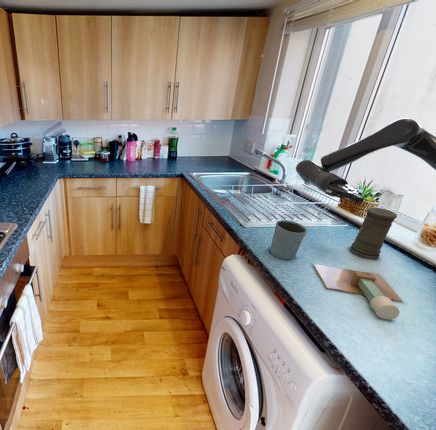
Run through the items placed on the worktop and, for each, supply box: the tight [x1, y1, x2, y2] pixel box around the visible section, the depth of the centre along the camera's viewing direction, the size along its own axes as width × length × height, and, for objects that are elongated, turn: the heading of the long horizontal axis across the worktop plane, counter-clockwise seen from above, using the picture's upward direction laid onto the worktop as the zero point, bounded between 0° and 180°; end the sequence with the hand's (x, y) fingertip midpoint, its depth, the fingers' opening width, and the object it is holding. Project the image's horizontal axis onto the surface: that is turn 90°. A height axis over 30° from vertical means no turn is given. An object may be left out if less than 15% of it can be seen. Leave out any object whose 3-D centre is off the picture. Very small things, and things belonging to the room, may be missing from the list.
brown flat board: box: [312, 263, 403, 303], centre depth 96 cm, size 20×14×1 cm
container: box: [349, 207, 398, 260], centre depth 109 cm, size 9×9×18 cm
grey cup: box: [269, 219, 308, 260], centre depth 108 cm, size 10×10×12 cm
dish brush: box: [351, 272, 400, 320], centre depth 86 cm, size 5×5×16 cm
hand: (360, 200), depth 96 cm, fingers closed
